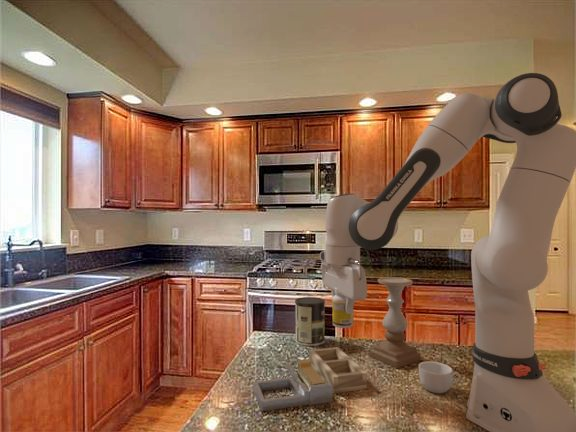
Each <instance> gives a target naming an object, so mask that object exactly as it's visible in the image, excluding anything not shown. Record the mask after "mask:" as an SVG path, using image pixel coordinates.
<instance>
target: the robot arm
mask: <svg viewBox="0 0 576 432" xmlns="http://www.w3.org/2000/svg"><path fill="white" fill-rule="evenodd" d="M562 114H563V113H562V110H561V106H560V102H559V94H558V89H557V87H556V85H555V83H554V81H553V80H552V79H551V78H550V77H548V76H547V75H544V74H542V73H537V72H528V73H522V74H520V75H517V76H515V77H513V78H511V79H510V80H509V81H507V82H506V83H504V84H503V86H501V88H500V89H499V90H498V92H497V94H496V96H495V98H486V97H485V98H484V97H482V96H480V95H478V94H476V93H471V92H465V93H460V94H458V95H456V96H455V97H454V98H453V99H452V100H451V101H449V102H448V103H447V104H446V105H445V106H444V107H443V108H441V110H440V111H439V112H438V113H437V114H436V115H435V116H434V117H433V118H432V120H431V121H430V122H429V124H427V126H426V127H425V128H424V129H423V131H422V133H421V134H420V135H419V137H418V139H417V140H416V142H415V144H414V145H413V147H412V149H411V151H410V153H409V155H408V156H407V158H406V160H405V162H404V164H403V165H402V167H400V169H399V170H398V172H397V173H396V174H395V175H394V176H393V178H392V179H391V180H390V182H388V183H387V185H386V187H384V189H383V190H382V191H381V192H380V193H379V194H378V195H377V196H376V198H373V200H371V201H367V200H366V199H363V198H362V197H360V196H358V194H356V193H343V194H339V195H335V196H333V197H331V198H330V199H329V200H328V202H327V205H326V211H325V231H326V241H325V248H324V250H322V251H321V252H320V254H319V260H320V261H321V280H322V283H323V286H325V287H326V288H328V289H330V291H331V292H330V293H331V296H332V298H333V296H335V295H336V294H335V288H337V289H338V292H339V293H340V294H342V295H344V296H345V300H347V301H346V306H344V312H345V313H347V314H352V313H353V314H354V306H355V303H356V301H362V300H366V298H367V297H368V283H367V276H366V275H367V274H366V270H365V268H363V266H362V265H361V248H362V249H363V250H369V251H376V250H379V249H382V248H384V247H385V246H387V244H389V243H390V241H392V239H393V238H394V237H395V236H396V234H397V232H398V228H399V222H398V219H399V218H400V216H401V215H402V213H403V212H404V211H405V209H406V208H407V207H408V206H409V205H410V203H412V201H413V200H414V199H415V197H416V196H417V195H418V194H419V193H420V192H421V191H422V190H423V188H425V186H427V185H428V184H429V183H431V182H432V181H434V180H436V179H437V178H440V177H443V176H445V175H446V174H448V172H450V171H451V170H453V168H455V166H458V164H459V163H460V162H461V161H462V160H464V158H465V157H466V155H467V154H468V153H469V152H470V151H471V149H472V148H473V147H474V146H475V144H476V143H477V142H478V141H479V140H480V139H481V138H482V137H483V138H486V139H488V140H489V139H490V140H494V141H497V142H499V143H505V144H515V143H516V155H515V157H514V160H513V162H512V165H511V166H510V169H509V172H508V174H507V176H506V179H505V181H504V184H503V186H502V189H501V191H500V193H499V196H498V199H497V201H496V206H495V213H494V217H493V220H492V225H491V228H490V232H489V234H488V235H485V236H483V237H481V238H480V239H478V240H477V241H476V243H475V244H474V245H473V247H472V249H471V252H470V260H471V261H470V262H471V264H470V265H471V278H472V279H471V280H472V281H471V282H472V289H473V300H474V310H475V311H474V315H475V316H474V317H475V318H474V319H475V323H474V324H475V325H474V328H475V329H474V330H475V331H474V333H475V335H474V336H475V337H474V338H475V339H474V340H475V341H474V343H473V344H472V345H473V347H472V352H471V353H472V360H473V362H474V366H473V367H474V368H473V373H472V378H471V386H470V392H469V397H468V399H467V401H466V406H467V407H466V408H467V410H466V415H465V418H466V419H467V420H468V421H470V422H472V423H474V424H475V425H477V426H479V427H481V428H482V429H484V430H486V431H488V432H576V413H575V410H574V409H573V407H571V405H570V404H569V403H568V402H567V401H566V400H565V399H564V398H563V397H562V395H561V394H560V393H559V392H558V391H557V390H556V389H555V388H554V387H553V386H552V385H551V384H550V382H549V381H548V380H547V379H546V378H545V377H544V375H543V371H544V370H547V369H548V367H547V365H548V363H540V361H539V359H538V355H537V354H536V351H535V315H534V311H533V309H532V304H531V301H530V295H529V291H530V290H534V289H535V288H537V287H539V286H540V285H541V284H542V283H543V282H544V281H545V280H546V277H547V275H548V271H549V270H548V269H549V266H548V254H549V251H550V245H551V240H552V235H553V228H554V226H555V222H556V218H557V217H558V213H559V210H560V208H561V206H562V203H563V201H564V199H565V196H566V194H567V192H568V189H569V187H570V184H571V182H572V180H573V178H574V174H575V171H576V130H575V129H573V128H572V127H569V126H567V125H564V124H560V123H559V121H560V120H561V118H562Z"/></svg>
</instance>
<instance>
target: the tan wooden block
mask: <svg viewBox="0 0 576 432" xmlns="http://www.w3.org/2000/svg"><path fill="white" fill-rule="evenodd" d="M297 376H298V377H299V379H300V380H301V382H302V383H304V384H305V385H306V387H307V388H308V389H309V386H310V385H318V384H325V382H324V380H323V379H322V378H321V377H320V376H319V374H318V373H317V372H316V371H315V370H314V368H313V367H312V366H311V362H310V360H309V358H308V359H307V358H306V359H299V360H297Z"/></svg>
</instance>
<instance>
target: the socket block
mask: <svg viewBox="0 0 576 432" xmlns="http://www.w3.org/2000/svg"><path fill="white" fill-rule="evenodd" d="M285 365H286V368H285V369H286V370H287V372H289V374H290V376H289V377H282V378H275V379H274V378H273V379H267V380H266V379H265V380H257V381H253V382H252V384H253V385H252V387H253V388H252V390H253V392H254V393H253V394H254V396H255V398H256V401H257V403H258V407H259V409H260V411H261V412H265V411H271V410H279V409H285V408H292V407H298V406H299V407H300V406H305V405H306V406H307V405H310V406H314V405H321V404H328V403H333V392H332V384H331V383H325V384H318V385H310V386H309V389H308V388H307V387H306V385H305V384H304V383H302V382H301V380H300V379H299V377H298V373H296V372H295V370H294V369H293V367H292V366H291V364H290V363H286V364H285ZM285 388H286V389H287V388H289V389H290V390H291V393H292V395H288V396H280V397H279V396H278V397H272V398H265V396H264V395H263V391H269V390H279V389H285Z"/></svg>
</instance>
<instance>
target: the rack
mask: <svg viewBox="0 0 576 432" xmlns="http://www.w3.org/2000/svg"><path fill="white" fill-rule="evenodd" d="M308 359H309V360H310V362H311V366H312V367H313V368H314V370H315V371H316V372H317V373H318V374H319V376H320V377H321V378H322V379H323V380H324V382H325V383H331V384H332V395H333V394H334V395H335V394H340V393H345V392H346V393H347V392H348V393H349V392H354V391H360V390H367V389H368V372H367V371H366V370H365V369H363V368H362V367H361V366H360V365H359V364H357V363H356V362H355V360H353V359H352V358H351V357H350V356H349V355H347V354H346V353H345V352H344V350H342V349H341V348H340V347H338V346H337V347H325V348H317V349H309V350H308Z"/></svg>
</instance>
